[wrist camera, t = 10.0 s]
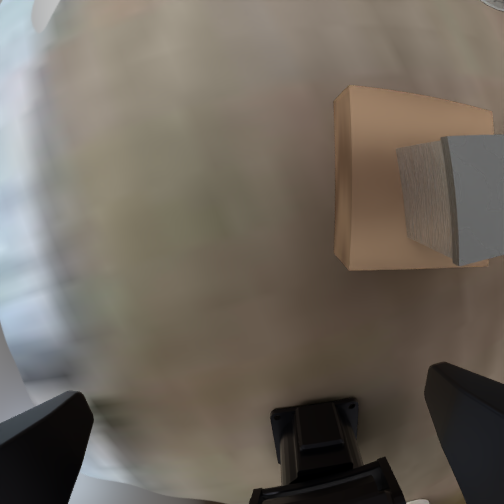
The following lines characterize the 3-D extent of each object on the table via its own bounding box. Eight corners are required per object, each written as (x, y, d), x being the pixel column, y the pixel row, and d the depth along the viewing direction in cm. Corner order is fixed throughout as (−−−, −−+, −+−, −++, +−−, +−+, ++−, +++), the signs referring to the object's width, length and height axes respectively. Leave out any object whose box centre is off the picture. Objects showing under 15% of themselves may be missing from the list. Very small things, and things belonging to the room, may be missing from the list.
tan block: (454, 250, 19) (487, 266, 15) (332, 251, 19) (349, 270, 15) (457, 119, 17) (492, 111, 13) (332, 102, 17) (348, 85, 13)
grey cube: (474, 225, 14) (535, 245, 9) (405, 239, 15) (459, 266, 10) (465, 141, 13) (528, 134, 8) (393, 146, 14) (447, 136, 9)
